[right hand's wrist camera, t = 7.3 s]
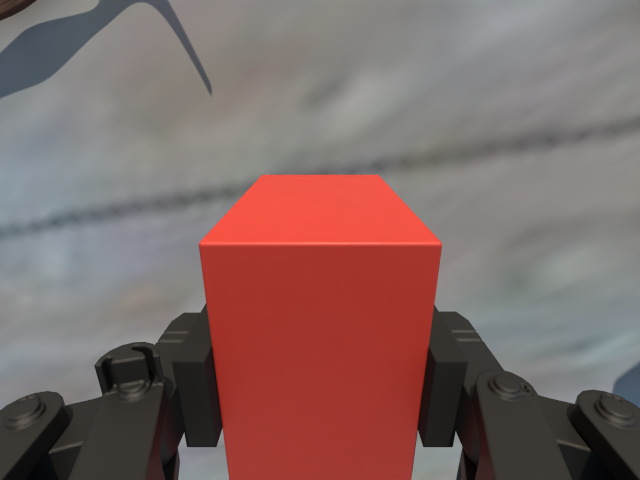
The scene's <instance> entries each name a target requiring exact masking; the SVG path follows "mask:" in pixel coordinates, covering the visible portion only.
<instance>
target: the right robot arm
mask: <svg viewBox="0 0 640 480" xmlns="http://www.w3.org/2000/svg"><path fill="white" fill-rule="evenodd" d="M94 366H95V369H96V373H97V376H98V380H99V383H100V387H101V391H102V394H103V395H102V397H99V398H96V399H92V400H88V401H83V402H79V403H75V404H70V405H66V406H65V403H64V400H63V397H62V396H61V395H59V394H58V393H57V392H49V391H46V392H39V393H34V394H31V395H28V396H25V397H22V398H20V399H18V400H16V401H14V402H13V403H11V404H9V405H7V406H6V407H4V408H3V409H2V410H0V480H178V475H179V465H180V459H179V452H178V445H179V443H180V441H181V438H182V436H183V434H184V432H185V438H186V443H187V447H216V446H217V443H218V440H219V437H220V433H221V430H222V427H223V426H222V419H221V411H220V403H219V396H218V388H217V380H216V373H215V365H214V357H213V350H212V342H211V334H210V327H209V319H208V311H207V304H205V306H204V308H203V310H202V311H201V313H183V314H182V315H180V316H179V317H177V318H176V319H175V320H173V321H172V322H171V323H170V325H169V326H168V327H167V329H166V330H165V332H164V334H162V336H161V337H160V339H159V340H158V343H156V344H155V345H154V344H151V343H146V342H135V343H130V344H126V345H122V346H120V347H117V348H115V349H113V350H111V351H109V352H108V353H106V354H105V355H104V356H102V357H101V358H100V359H99V360H98V362H97V363H96V364H95V365H94ZM418 431H419V434H420V437H421V441H422V444H423V447H453V442H454V436H455V431H456V432H457V435H458V437H459V439H460V442H461V444H462V446H463V447H462V452H461V457H460V463H459V468H458V473H457V479H456V480H640V409H639V408H638V407H637V406H636V405H634V404H633V403H631V402H629V401H627V400H625V399H623V398H621V397H619V396H617V395H614V394H611V393H608V392H605V391H598V390H587V391H583V392H581V393H580V394H579V395H578V396H577V399H576V402H575V404H572V403H567V402H563V401H559V400H554V399H550V398H546V397H543V396H539V395H538V394H537V393H536V391H535V390H534V388H533V387H532V386H531V385H530V384H529V383H528V382H527V381H525V380H524V379H523V378H521V377H519V376H517V375H515V374H513V373H511V372H507V371H504V370H503V368H502V367H501V366H500V364H499V363H498V361H497V360H496V359H495V357H494V356H493V354H492V353H491V352H490V350H489V349H488V347H487V346H486V345H485V343H484V342H483V341H482V339H481V338H480V336H479V335H478V333H476V331H475V329H474V328H473V326H472V325H471V323H470V322H469V321H468V320H467V319H466V318H464V317H463V316H461V315H460V314H458V313H457V312H438V310H437V308H436V307H435V305H434V310H433V317H432V325H431V332H430V340H429V347H428V355H427V362H426V370H425V378H424V385H423V393H422V400H421V408H420V416H419V423H418Z"/></svg>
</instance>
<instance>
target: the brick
mask: <svg viewBox="0 0 640 480" xmlns="http://www.w3.org/2000/svg"><path fill="white" fill-rule="evenodd" d="M441 249H442V244H441V242H440V241H439V239H438V238H437V237H436V236H435V235H434V234H433V233H432V232H431V231H430V230H429V229H428V228H427V227H426V226H425V224H424V223H423V222H422V221H421V220H420V219H419V218H418V217H417V216H416V215H415V214H414V213H413V212H412V211H411V210H410V208H409V207H408V206H407V205H406V204H405V203H404V202H403V201H402V200H401V199H400V198H399V197H398V196H397V195H396V193H395V192H394V191H393V190H392V189H391V188H390V187H389V186H388V185H387V184H386V183H385V182H384V181H383V180H382V178H381V177H380V176H379V175H262V176H261V177H260V178H259V179H258V180H257V181H256V182H255V183H254V184H253V185H252V186H251V188H250V189H249V190H248V191H247V192H246V193H245V194H244V195H243V196H242V197H241V198H240V199H239V200H238V202H237V203H236V204H235V205H234V206H233V207H232V208H231V209H230V210H229V211H228V212H227V213H226V215H225V216H224V217H223V218H222V219H221V220H220V221H219V222H218V223H217V224H216V225H215V226H214V227H213V229H212V230H211V231H210V232H209V233H208V234H207V235H206V236H205V237H204V238H203V239H202V240H201V241H200V243H199V250H200V257H201V265H202V273H203V280H204V288H205V296H206V304H207V311H208V319H209V327H210V334H211V342H212V350H213V357H214V365H215V373H216V380H217V388H218V396H219V403H220V411H221V419H222V426H223V434H224V442H225V449H226V457H227V465H228V472H229V480H411V477H412V469H413V462H414V454H415V447H416V439H417V431H418V423H419V416H420V408H421V400H422V393H423V385H424V378H425V370H426V362H427V355H428V347H429V340H430V332H431V325H432V317H433V310H434V302H435V294H436V287H437V279H438V272H439V264H440V256H441Z"/></svg>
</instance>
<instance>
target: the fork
mask: <svg viewBox="0 0 640 480" xmlns="http://www.w3.org/2000/svg"><path fill="white" fill-rule="evenodd" d="M35 1H36V0H0V20H3V19H5V18H8V17H10V16H12V15H14V14H16V13H18V12H20V11H22V10H24V9H25V8H27V7H28V6H29V5H31V4H32V3H33V2H35Z"/></svg>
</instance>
